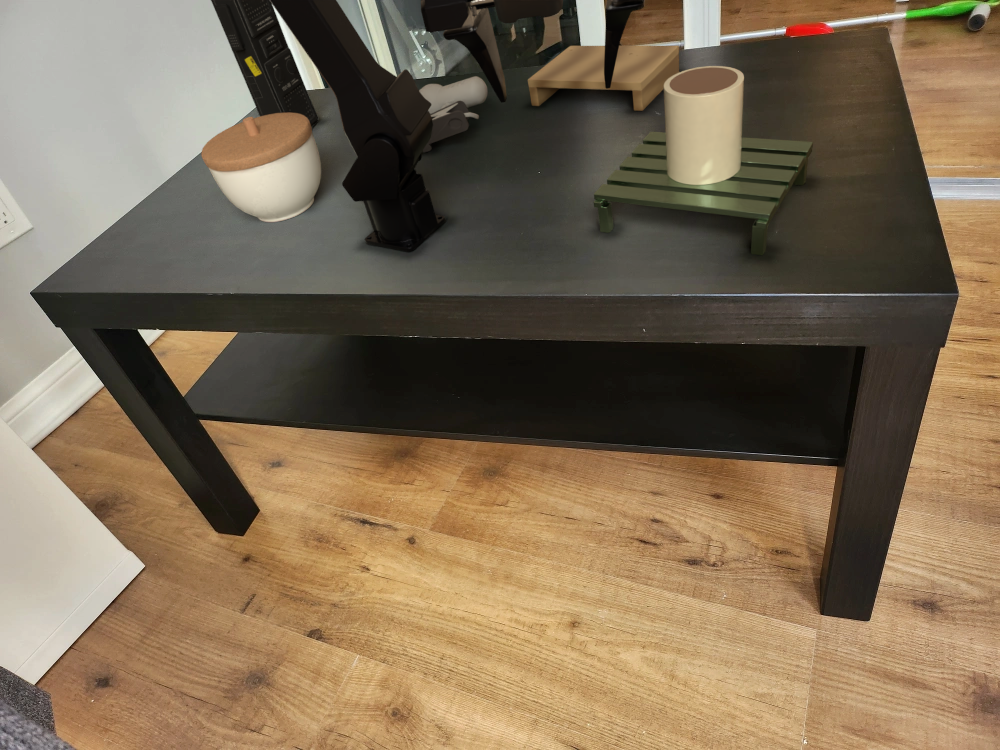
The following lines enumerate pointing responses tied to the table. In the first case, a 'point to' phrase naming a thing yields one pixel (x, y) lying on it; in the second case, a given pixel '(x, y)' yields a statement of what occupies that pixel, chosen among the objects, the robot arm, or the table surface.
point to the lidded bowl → (267, 165)
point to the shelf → (586, 71)
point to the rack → (741, 195)
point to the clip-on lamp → (452, 106)
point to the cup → (704, 124)
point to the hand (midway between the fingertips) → (555, 94)
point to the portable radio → (264, 57)
